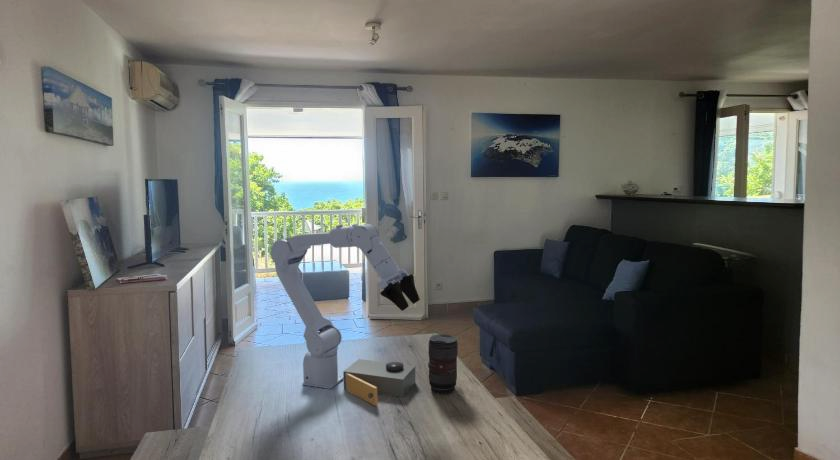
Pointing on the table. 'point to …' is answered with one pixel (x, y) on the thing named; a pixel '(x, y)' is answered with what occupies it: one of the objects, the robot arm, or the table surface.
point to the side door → (361, 389)
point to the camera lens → (443, 363)
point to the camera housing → (384, 376)
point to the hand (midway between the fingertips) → (411, 305)
